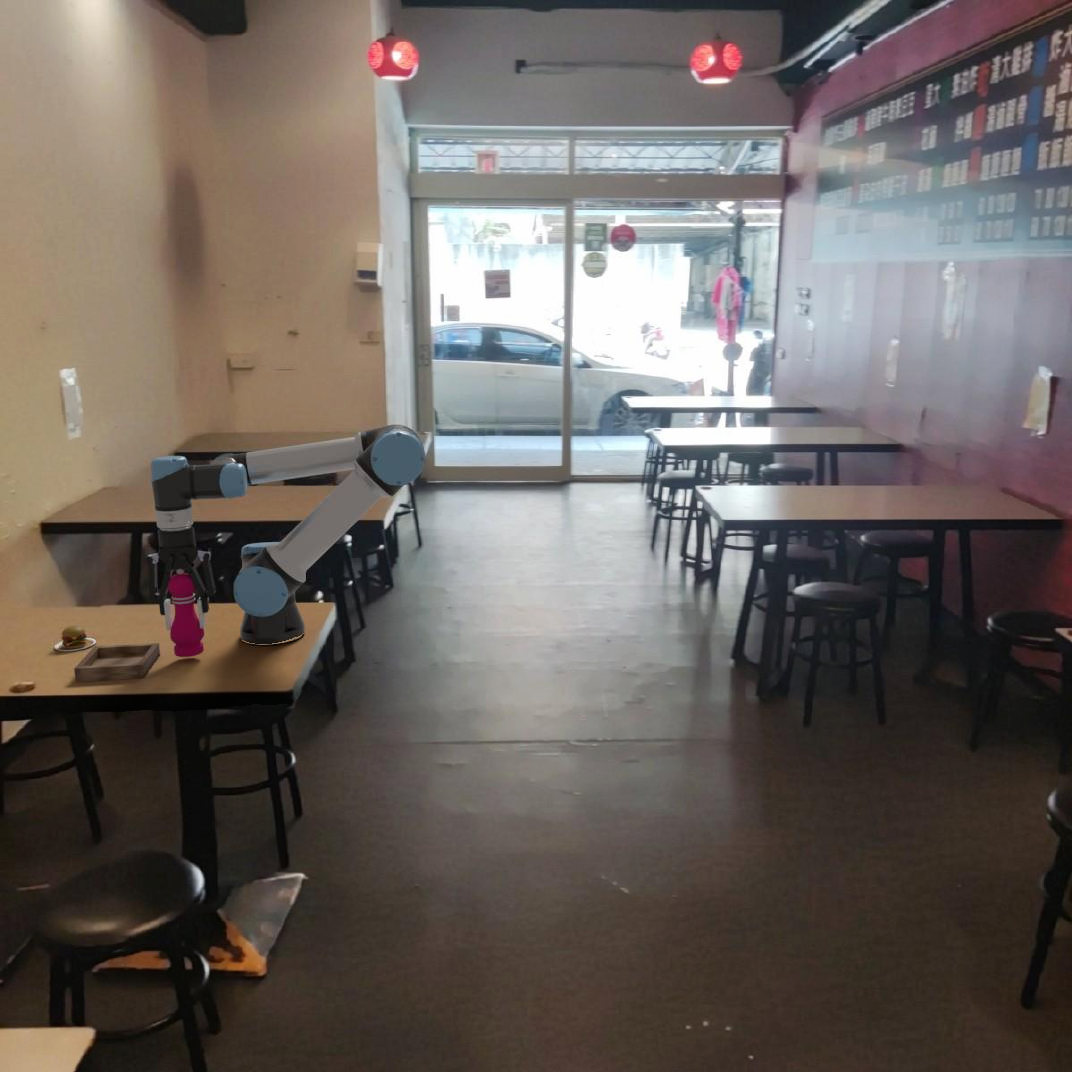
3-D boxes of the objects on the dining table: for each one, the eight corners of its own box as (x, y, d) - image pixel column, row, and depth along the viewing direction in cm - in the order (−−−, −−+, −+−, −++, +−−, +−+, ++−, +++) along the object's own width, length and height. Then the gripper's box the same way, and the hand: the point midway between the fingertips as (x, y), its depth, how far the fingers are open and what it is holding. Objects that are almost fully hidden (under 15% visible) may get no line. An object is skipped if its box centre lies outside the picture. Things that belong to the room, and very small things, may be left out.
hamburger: (105, 637, 233) (103, 616, 232) (100, 653, 222) (98, 631, 221) (51, 643, 230) (48, 621, 228) (43, 659, 219) (40, 637, 217)
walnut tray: (160, 655, 219) (158, 643, 218) (144, 678, 205) (143, 664, 205) (96, 658, 217) (94, 646, 216) (75, 681, 204) (74, 668, 203)
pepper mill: (211, 647, 219) (202, 562, 214) (197, 658, 212) (188, 571, 207) (181, 646, 219) (172, 562, 215) (166, 657, 212) (156, 571, 208)
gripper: (124, 533, 204) (137, 635, 209) (218, 528, 207) (228, 630, 212) (133, 525, 211) (145, 624, 217) (224, 521, 214) (234, 619, 219)
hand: (186, 627), depth 214 cm, fingers closed on pepper mill, 6 cm apart
